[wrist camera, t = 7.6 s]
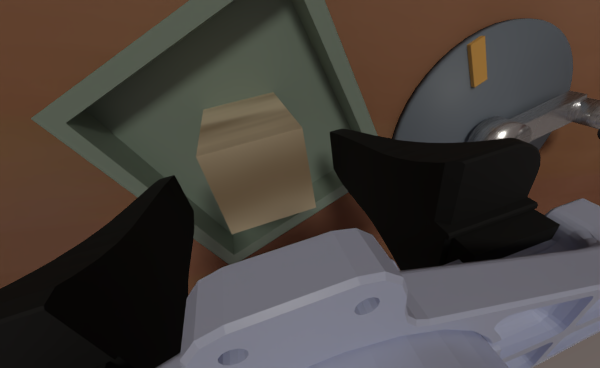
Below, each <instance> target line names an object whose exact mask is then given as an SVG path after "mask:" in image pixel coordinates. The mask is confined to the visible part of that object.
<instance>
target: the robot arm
mask: <svg viewBox="0 0 600 368" xmlns="http://www.w3.org/2000/svg"><path fill="white" fill-rule="evenodd" d="M330 142H331V151H332V160H333V169H334V171H335V172H336V174H337V176H338V178H339V179H340V181H341V183H342V184H343V185H344V187H345V188H346V189H347V191H348V192H349V193H350V194H351V195H352V197H353V198H354V199H355V200H356V202H357V203H358V204H359V205H360V207H361V208H362V209H363V210H364V211H365V213H366V214H367V215H368V217H369V218H370V219H371V221H372V222H373V224H374V226H375V227H376V229H377V230H378V232H379V234H380V235H381V237H382V238H383V240H384V242H385V244H386V245H387V247H388V249H389V250H390V252H391V254H392V255H393V257H394V259H395V261H396V263H397V264H398V266H399V268H400V270H401V271H400V270H399V269H398V267H397V265H396V263H395V262H394V260H392V259H390V258H389V257H388V255H387V254H386V253H385V251H384V250H383V248H382V247H381V246H380V244H379V243H378V242H377V240H376V239H375V238H374V236H373V235H372V234H369V233H367V232H364V231H362V230H360V229H357V228H352V229H344V230H336V231H330V232H327V233H324V234H321V235H318V236H315V237H312V238H309V239H306V240H303V241H300V242H297V243H294V244H291V245H288V246H285V247H282V248H279V249H276V250H273V251H270V252H267V253H264V254H261V255H258V256H255V257H251V258H248V259H245V260H242V261H239V262H236V263H233V264H230V265H227V266H224V267H222V268H220V269H219V270H217V271H215V272H213V273H211V274H210V275H208V276H206V277H204V278H202V279H200V280H199V281H198V282H197V283H196V285H195V286H194V288H193V289H192V291H191V292H190V294H189V296H188V276H189V267H190V259H191V252H192V244H193V236H194V210H193V208H192V206H191V205H190V203H189V201H188V199H187V197H186V195H185V193H184V192H183V190H182V188H181V186H180V184H179V182H178V181H177V179H176V177H175V175H173V176H169V177H165V178H162V179H159V180H158V181H156V182H155V183H154V184H153V185H151V186H150V187H149V188H148V189H147V190H146V191H145V192H144V193H142V194H141V195H140V196H139V197H138V198H137V199H136V200H135V201H134V202H133V203H131V204H130V205H129V206H128V207H127V208H126V209H125V210H123V211H122V212H121V213H120V214H119V215H117V216H116V217H115V218H114V219H113V220H112V221H110V222H109V223H108V224H107V225H105V226H104V227H103V228H101V229H100V230H99V231H97V232H96V233H94V234H93V235H92V236H90V237H89V238H88V239H86V240H85V241H83V242H82V243H80V244H79V245H77V246H75V247H74V248H72V249H71V250H69V251H67V252H66V253H64V254H63V255H61V256H59V257H58V258H56V259H55V260H53V261H51V262H49V263H48V264H46V265H44V266H42V267H41V268H39V269H37V270H35V271H34V272H32V273H30V274H28V275H26V276H24V277H22V278H20V279H19V280H17V281H15V282H13V283H11V284H9V285H7V286H5V287H3V288H1V289H0V368H533V367H534V366H536V365H538V364H540V363H542V362H544V361H546V360H547V359H549V358H551V357H553V356H555V355H556V354H558V353H560V352H562V351H564V350H566V349H567V348H569V347H571V346H573V345H575V344H577V343H579V342H581V341H583V340H584V339H586V338H588V337H590V336H592V335H594V334H596V333H598V332H600V206H598V205H596V204H594V203H592V202H590V201H588V200H586V199H578V200H575V201H572V202H570V203H567V204H564V205H561V206H559V207H556V208H554V209H552V210H550V211H549V212H548V213H547V214H545V215H543V214H541V213H539V212H538V211H536V210H534V209H535V208H537V206H538V204H537V202H535V201H533V200H532V199H530V198H528V197H527V196H528V194H529V191H530V189H531V187H532V185H533V182H534V180H535V178H536V175H537V173H538V170H539V167H540V153H539V151H538V148H536V147H535V146H534V145H532V144H530V143H527V142H524V141H522V140H519V139H517V138H503V139H494V140H485V141H476V142H459V143H426V142H412V141H403V140H396V139H390V138H384V137H380V136H375V135H371V134H366V133H362V132H358V131H354V130H349V129H338V130H335V131H331V132H330Z"/></svg>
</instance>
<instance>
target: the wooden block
mask: <svg viewBox="0 0 600 368" xmlns="http://www.w3.org/2000/svg"><path fill="white" fill-rule="evenodd" d="M196 158H197V160H198V162H199V164H200V167H201V169H202V171H203V173H204V175H205V177H206V180H207V182H208V184H209V186H210V188H211V190H212V192H213V195H214V197H215V199H216V201H217V203H218V205H219V208H220V210H221V212H222V214H223V216H224V218H225V220H226V223H227V225H228V227H229V229H230V231H231V233H232V234H235V233H238V232H241V231H244V230H247V229H250V228H253V227H257V226H260V225H263V224H266V223H269V222H272V221H275V220H279V219H282V218H285V217H288V216H291V215H294V214H297V213H300V212H304V211H307V210H310V209H313V208H316V204H315V198H314V192H313V186H312V181H311V175H310V169H309V163H308V158H307V152H306V146H305V140H304V135H303V129H302V127H301V126H300V124H299V123H298V122H297V121H296V119H295V118H294V117H293V116H292V114H291V113H290V112H289V111H288V110H287V108H286V107H285V106H284V105H283V103H282V102H281V101H280V100H279V98H278V97H277V96H276V95H275V94H274V92H272V93H268V94H264V95H260V96H256V97H252V98H248V99H244V100H240V101H236V102H232V103H228V104H224V105H220V106H216V107H212V108H208V109H204V110H203V114H202V121H201V127H200V134H199V140H198V147H197V153H196Z"/></svg>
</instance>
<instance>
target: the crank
mask: <svg viewBox="0 0 600 368" xmlns="http://www.w3.org/2000/svg"><path fill="white" fill-rule="evenodd" d="M570 122H575V123H578V124H582V125H585V126H589V127H593V128H596V129H599V130H598V133H597V135H598V138H599V139H600V100H597V99H592V98H587V94H584V93H579V92H573V91H567V92H565V93H563V94H561V95H559V96H557V97H555V98H552V99H550V100H548V101H546V102H544V103H542V104H540V105H538V106H535V107H533V108H531V109H529V110H527V111H525V112H523V113H521V114H518V115H516V116H514V117H512V118H510V119H507V118H504V117H501V116H493V117H490V118H487V119H486V120H484V121H483V122H481V123H480V124H479V125H478V126H477V127H476V128H475V129H474V130H473V132H472V133H471V135H470V137H469V139H468V141H467V142H476V141H485V140H494V139H503V138H517V139H519V140H522V141H524V142H527V143H530V141H532V140H535V139H537V138H539V137H541V136H543V135H545V134H547V133H549V132H551V131H553V130H556V129H558V128H560V127H562V126H564V125H566V124H568V123H570Z"/></svg>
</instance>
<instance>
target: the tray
mask: <svg viewBox="0 0 600 368" xmlns="http://www.w3.org/2000/svg"><path fill="white" fill-rule="evenodd" d="M272 92H274V94H275V95H276V96H277V97H278V98H279V100H280V101H281V102H282V103H283V105H284V106H285V107H286V108H287V110H288V111H289V112H290V113H291V114H292V116H293V117H294V118H295V119H296V121H297V122H298V123H299V124H300V126H301V127H302V129H303V135H304V140H305V146H306V152H307V158H308V163H309V169H310V175H311V181H312V186H313V192H314V198H315V204H316V208H313V209H310V210H307V211H304V212H300V213H297V214H294V215H291V216H288V217H285V218H282V219H279V220H275V221H272V222H269V223H266V224H263V225H260V226H257V227H253V228H250V229H247V230H244V231H241V232H238V233H235V234H232V233H231V231H230V229H229V227H228V225H227V223H226V220H225V218H224V216H223V214H222V212H221V210H220V208H219V205H218V203H217V201H216V199H215V197H214V195H213V192H212V190H211V188H210V186H209V184H208V182H207V180H206V177H205V175H204V173H203V171H202V169H201V167H200V164H199V162H198V160H197V158H196V153H197V147H198V140H199V134H200V127H201V121H202V114H203V110H204V109H208V108H212V107H216V106H220V105H224V104H228V103H232V102H236V101H240V100H244V99H248V98H252V97H256V96H260V95H264V94H268V93H272ZM31 119H32V120H33V121H35V122H36V123H37V124H39V125H40V126H41V127H43V128H44V129H45V130H47V131H48V132H50V133H51V134H52V135H54V136H55V137H56V138H58V139H59V140H60V141H62V142H63V143H65V144H66V145H67V146H69V147H70V148H71V149H73V150H74V151H75V152H77V153H78V154H79V155H81V156H82V157H84V158H85V159H86V160H88V161H89V162H90V163H92V164H93V165H94V166H96V167H97V168H99V169H100V170H101V171H103V172H104V173H105V174H107V175H108V176H109V177H111V178H112V179H113V180H115V181H116V182H118V183H119V184H120V185H122V186H123V187H124V188H126V189H127V190H128V191H130V192H131V193H132V194H134V195H135V196H137V197H139V196H140V195H141V194H142V193H144V192H145V191H146V190H147V189H148V188H149V187H150V186H151V185H153V184H154V183H155V182H156V181H158V180H159V179H162V178H165V177H169V176H173V175H175V177H176V179H177V181H178V182H179V184H180V186H181V188H182V190H183V192H184V193H185V195H186V197H187V199H188V201H189V203H190V205H191V206H192V208H193V210H194V236H193V238H194V239H195V240H196V241H198V242H199V243H200V244H202V245H203V246H205V247H206V248H207V249H209V250H210V251H211V252H213V253H214V254H215V255H217V256H218V257H220V258H221V259H222V260H224V261H225V262H226V263H228V264H229V265H230V264H233V263H236V262H239V261H241V260H243V259H245V258H246V257H248V256H249V255H251V254H252V253H254V252H255V251H257V250H259V249H260V248H262V247H263V246H265V245H266V244H268V243H270V242H271V241H273V240H274V239H276V238H277V237H279V236H281V235H282V234H284V233H285V232H287V231H288V230H290V229H291V228H293V227H295V226H296V225H298V224H299V223H301V222H302V221H304V220H306V219H307V218H309V217H310V216H312V215H313V214H315V213H317V212H318V211H320V210H321V209H323V208H324V207H326V206H327V205H329V204H331V203H332V202H334V201H335V200H337V199H338V198H340V197H342V196H343V195H345V194H346V193H348V191H347V189H346V188H345V187H344V185H343V184H342V183H341V181H340V179H339V178H338V176H337V174H336V172H335V171H334V169H333V160H332V151H331V142H330V132H331V131H335V130H338V129H349V130H354V131H358V132H362V133H366V134H371V135H375V136H378V135H377V133H376V130H375V128H374V125H373V123H372V120H371V118H370V115H369V112H368V110H367V107H366V105H365V102H364V100H363V97H362V95H361V92H360V90H359V87H358V84H357V82H356V79H355V77H354V74H353V72H352V69H351V67H350V64H349V62H348V59H347V56H346V54H345V51H344V49H343V46H342V44H341V41H340V39H339V36H338V33H337V31H336V28H335V26H334V23H333V21H332V18H331V16H330V13H329V11H328V8H327V5H326V3H325V0H189V1H188V2H187V3H185V4H184V5H183V6H181V7H180V8H179V9H177V10H176V11H175V12H173V13H172V14H171V15H169V16H168V17H167V18H165V19H164V20H163V21H161V22H160V23H159V24H157V25H156V26H155V27H153V28H152V29H151V30H149V31H148V32H147V33H145V34H144V35H142V36H141V37H140V38H138V39H137V40H136V41H134V42H133V43H132V44H130V45H129V46H128V47H126V48H125V49H124V50H122V51H121V52H120V53H118V54H117V55H116V56H114V57H113V58H112V59H110V60H109V61H108V62H106V63H105V64H104V65H102V66H101V67H100V68H98V69H97V70H95V71H94V72H93V73H91V74H90V75H89V76H87V77H86V78H85V79H83V80H82V81H81V82H79V83H78V84H77V85H75V86H74V87H73V88H71V89H70V90H69V91H67V92H66V93H65V94H63V95H62V96H61V97H59V98H58V99H57V100H55V101H54V102H53V103H51V104H50V105H48V106H47V107H46V108H44V109H43V110H42V111H40V112H39V113H38V114H36V115H35V116H34V117H32V118H31Z"/></svg>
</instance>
